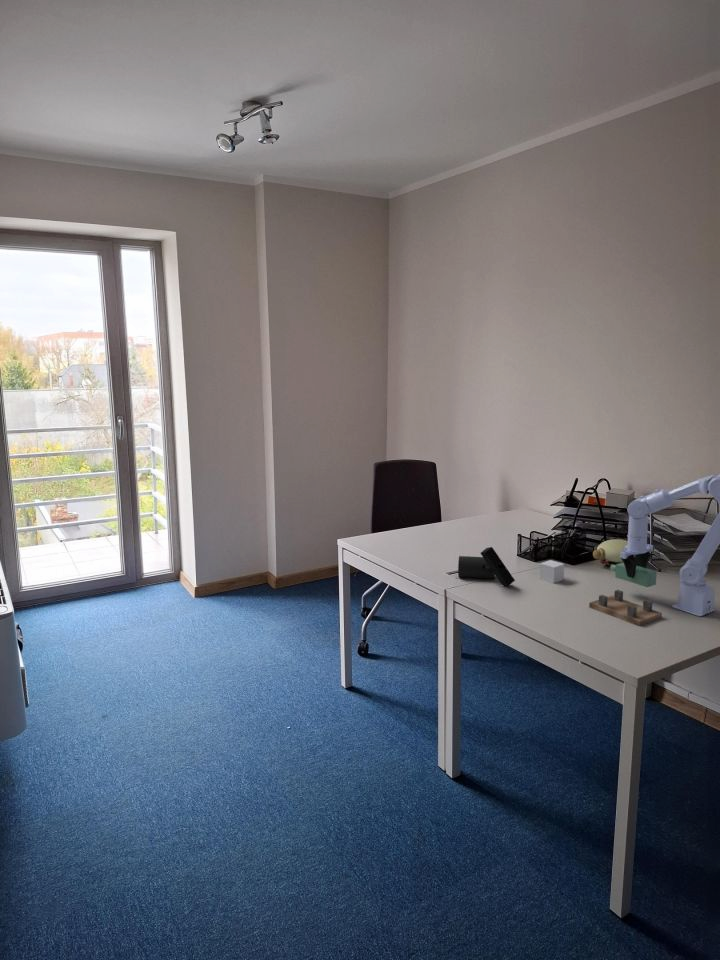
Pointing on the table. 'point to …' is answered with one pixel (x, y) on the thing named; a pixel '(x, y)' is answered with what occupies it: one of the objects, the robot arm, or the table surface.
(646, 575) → the green bottle
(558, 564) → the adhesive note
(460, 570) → the track light
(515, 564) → the table surface
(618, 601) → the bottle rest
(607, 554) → the cream rounded piece
